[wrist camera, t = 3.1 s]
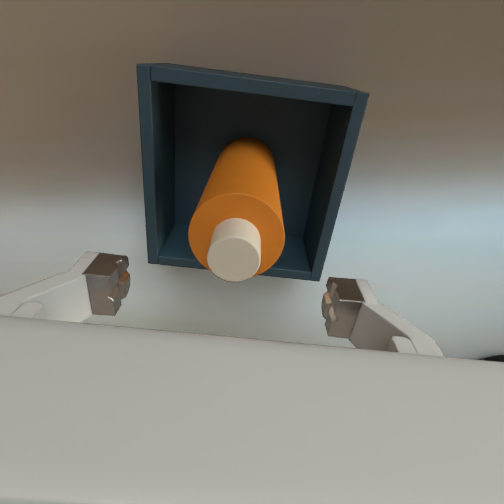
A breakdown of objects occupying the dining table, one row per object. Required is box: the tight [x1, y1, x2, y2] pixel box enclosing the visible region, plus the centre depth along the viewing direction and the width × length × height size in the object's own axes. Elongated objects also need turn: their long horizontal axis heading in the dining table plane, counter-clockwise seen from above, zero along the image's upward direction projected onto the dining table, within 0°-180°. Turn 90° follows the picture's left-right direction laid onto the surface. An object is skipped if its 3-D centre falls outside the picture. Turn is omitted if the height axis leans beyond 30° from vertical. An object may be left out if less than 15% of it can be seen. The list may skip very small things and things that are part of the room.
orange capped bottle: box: [188, 137, 285, 282], centre depth 21 cm, size 5×5×15 cm
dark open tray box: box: [136, 63, 369, 281], centre depth 25 cm, size 14×14×7 cm
